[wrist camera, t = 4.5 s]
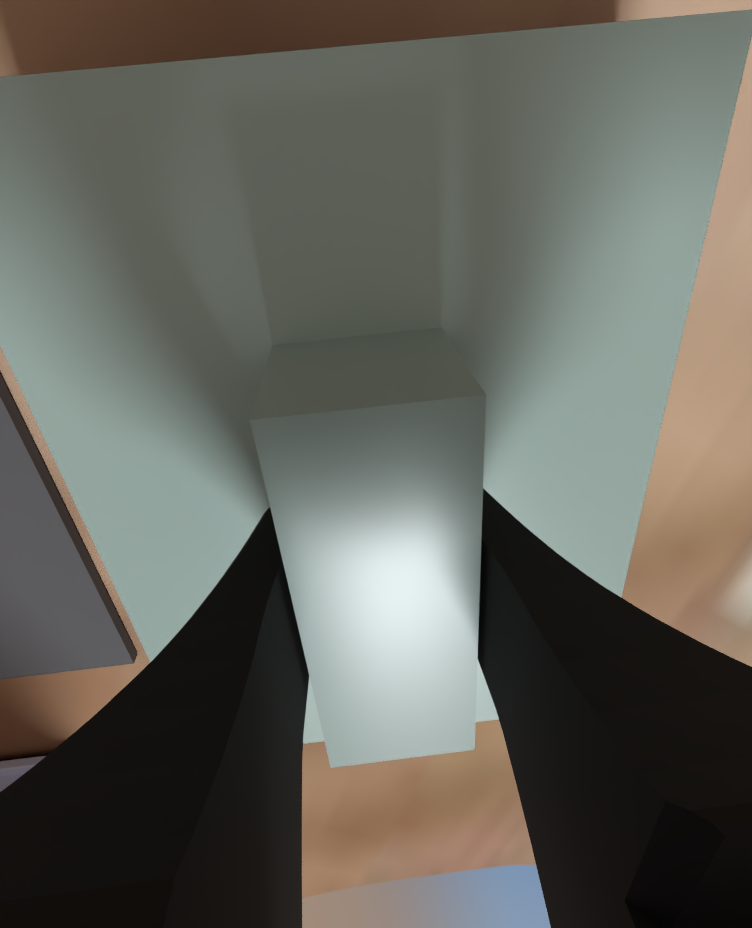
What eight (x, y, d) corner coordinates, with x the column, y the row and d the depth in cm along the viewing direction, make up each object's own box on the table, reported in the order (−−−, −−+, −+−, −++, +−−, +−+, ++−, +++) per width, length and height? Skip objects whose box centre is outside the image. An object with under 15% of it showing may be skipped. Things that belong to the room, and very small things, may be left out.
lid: (579, 672, 16) (649, 817, 13) (203, 719, 16) (168, 880, 13) (703, 27, 8) (1001, -77, 5) (-64, 96, 8) (-395, 45, 4)
